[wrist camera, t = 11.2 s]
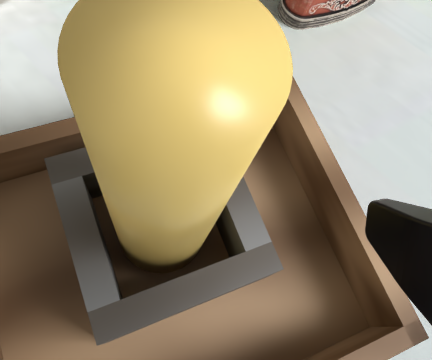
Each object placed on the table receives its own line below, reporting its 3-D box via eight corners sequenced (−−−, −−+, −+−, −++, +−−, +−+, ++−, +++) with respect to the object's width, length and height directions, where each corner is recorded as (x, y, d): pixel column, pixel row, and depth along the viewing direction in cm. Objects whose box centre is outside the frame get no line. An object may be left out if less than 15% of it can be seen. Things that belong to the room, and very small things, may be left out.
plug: (188, 285, 18) (261, 194, 6) (105, 257, 18) (11, 108, 6) (213, 206, 20) (312, 9, 8) (137, 180, 19) (114, -62, 7)
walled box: (382, 336, 19) (434, 338, 16) (20, 517, 15) (-20, 576, 11) (267, 101, 23) (288, 60, 20) (-47, 187, 19) (-92, 154, 15)
